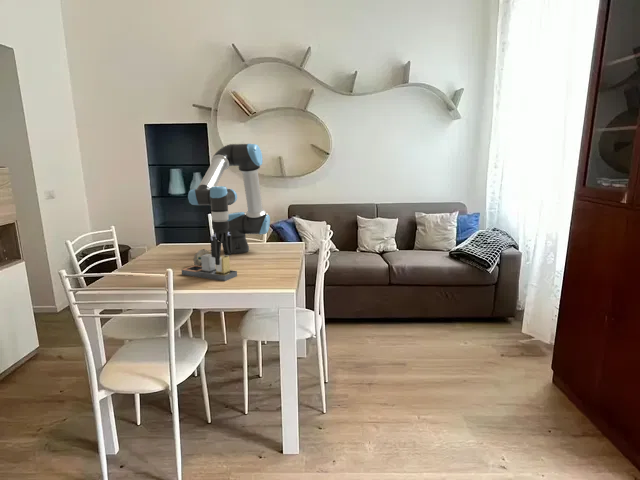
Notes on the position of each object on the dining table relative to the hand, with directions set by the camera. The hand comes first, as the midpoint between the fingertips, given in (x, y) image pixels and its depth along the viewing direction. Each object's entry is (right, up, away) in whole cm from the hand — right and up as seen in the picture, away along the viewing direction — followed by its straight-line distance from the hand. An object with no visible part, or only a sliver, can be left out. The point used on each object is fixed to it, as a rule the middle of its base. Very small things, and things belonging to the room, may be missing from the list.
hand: (223, 269), depth 196 cm
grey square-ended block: (-8, -3, +4) cm, 9 cm away
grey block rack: (-8, -3, +4) cm, 9 cm away
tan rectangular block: (0, -4, +1) cm, 4 cm away
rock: (-14, 0, +23) cm, 27 cm away
